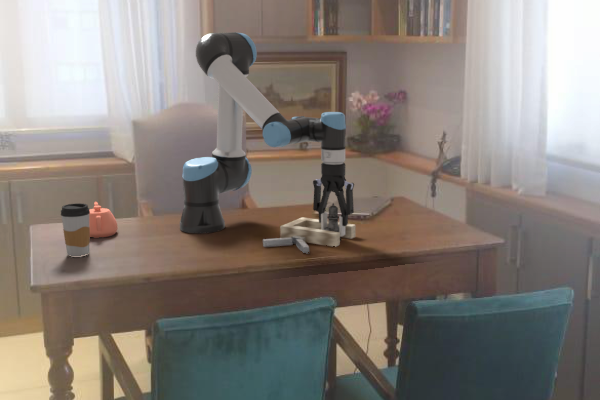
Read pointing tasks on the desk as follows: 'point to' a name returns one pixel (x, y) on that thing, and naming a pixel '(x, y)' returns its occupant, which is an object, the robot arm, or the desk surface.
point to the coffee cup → (76, 228)
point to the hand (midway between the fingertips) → (333, 233)
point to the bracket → (315, 232)
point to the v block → (288, 242)
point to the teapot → (101, 222)
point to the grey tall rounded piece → (333, 219)
